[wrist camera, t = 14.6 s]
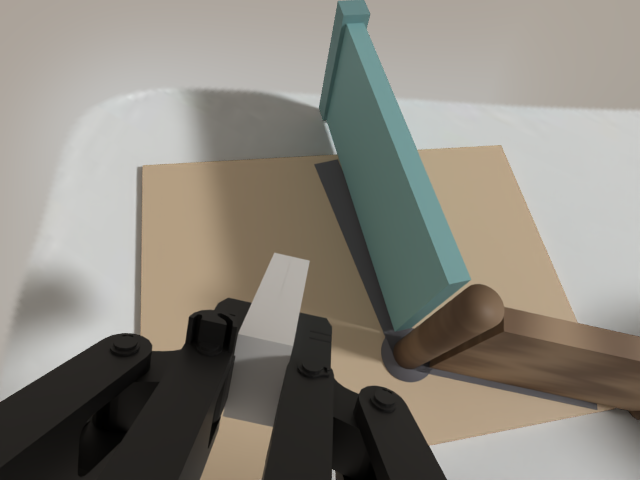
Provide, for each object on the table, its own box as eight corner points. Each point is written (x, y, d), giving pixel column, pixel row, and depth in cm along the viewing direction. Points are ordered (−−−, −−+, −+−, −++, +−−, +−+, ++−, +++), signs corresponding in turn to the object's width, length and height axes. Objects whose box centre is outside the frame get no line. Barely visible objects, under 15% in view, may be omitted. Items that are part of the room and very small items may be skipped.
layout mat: (498, 148, 38) (501, 144, 37) (610, 409, 29) (615, 408, 28) (143, 168, 32) (142, 164, 32) (140, 502, 23) (138, 503, 23)
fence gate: (415, 327, 28) (482, 273, 20) (390, 332, 28) (448, 280, 19) (339, 105, 36) (364, -1, 28) (318, 107, 36) (337, 0, 27)
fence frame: (650, 393, 30) (844, 365, 20) (655, 424, 29) (862, 410, 19) (392, 337, 29) (461, 279, 19) (389, 367, 28) (460, 322, 18)
